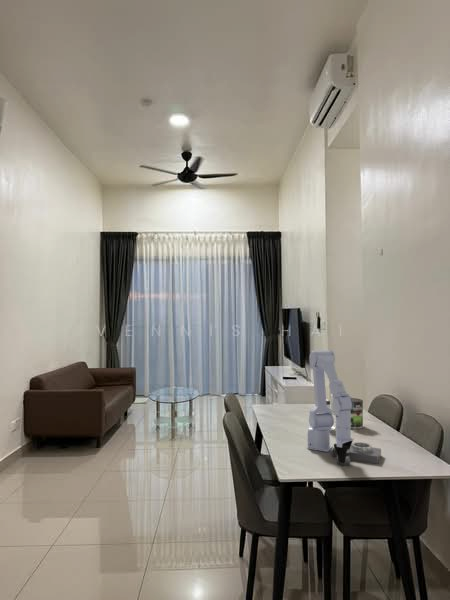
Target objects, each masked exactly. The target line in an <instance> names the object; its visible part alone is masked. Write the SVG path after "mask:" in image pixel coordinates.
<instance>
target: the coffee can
mask: <svg viewBox="0 0 450 600" xmlns="http://www.w3.org/2000/svg"><path fill="white" fill-rule="evenodd" d="M351 398H352V400H353V409H352V410H351V429H353V430H354V429H355V430H358V429H362V428H364V423H363V422H364V421H363V420H364V419H363V418H364V413H363V411H364V407H363V406H364V405H363V403H364V402H363V401H364V400H363V399H360V398H354V397H351Z"/></svg>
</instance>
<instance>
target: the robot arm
mask: <svg viewBox="0 0 450 600" xmlns="http://www.w3.org/2000/svg"><path fill="white" fill-rule="evenodd" d="M335 361H336V355H335V352H334V351H333V349H332V350H331V349H328V350H311V351H310V354H309V367H310V369H312V374H313V375H312V376H313V391H314V407H312V409H310V410H309V418H308V423H309V427H308V430H307V447H306V449H307V450H313V451H314V450H315V451H320V452H327V453H328V452H330V450H331V449H333V448H335V450H336V452H337V455H338V460H339V463H345V459H346V453H347V450H348V448H349V449H350V446H351V444H352V443H354V442H353V441H354V440H355V439H354V438H355V437H354V438H353V437H351V434H352V431H351V430H352V428H351V410H352V409H353V400H352V398H353V397H352V396H350V394H349V393H347V391H346V388H345V386H344V384H343V381H342V380H340V379H339V378H338V374H337V373H338V372H337V370H336V366H335ZM325 375H326V376H327V378H328V381H329V385H328V388H329V389H330V393H331V394H332V396H333V398H334V401H333V407H334V411H335V413H334V415H335V419H334V416H333V413H332V410H331V408H330V409H329V408H328V407H327V405H326V399H327V395H326V394H327V392H326V379H325ZM319 413H321V414H319ZM334 423H335V442H336V443H334V444H333V445H330V444H331V439H330V438H331V437H330V436H331V434H330V431H331V430H330V429H331V427H332V426H334Z"/></svg>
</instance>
